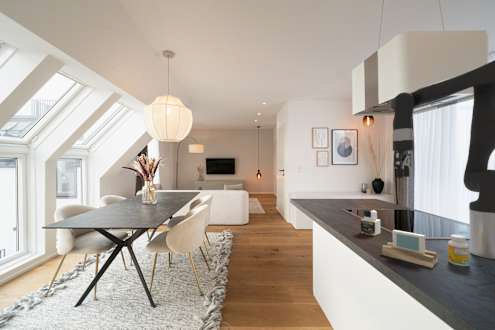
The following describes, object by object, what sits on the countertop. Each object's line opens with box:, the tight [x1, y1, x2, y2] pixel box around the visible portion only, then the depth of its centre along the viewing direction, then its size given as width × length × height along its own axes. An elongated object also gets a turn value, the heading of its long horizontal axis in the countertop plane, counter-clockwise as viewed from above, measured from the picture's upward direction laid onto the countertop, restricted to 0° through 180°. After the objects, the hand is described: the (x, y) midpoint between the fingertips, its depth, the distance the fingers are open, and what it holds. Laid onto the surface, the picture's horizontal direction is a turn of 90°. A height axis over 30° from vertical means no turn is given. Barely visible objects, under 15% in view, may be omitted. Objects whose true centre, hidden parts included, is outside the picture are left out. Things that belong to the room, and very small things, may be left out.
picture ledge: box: [381, 241, 439, 269], centre depth 88 cm, size 8×16×3 cm, turn 40°
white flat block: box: [392, 229, 426, 254], centre depth 88 cm, size 2×10×8 cm, turn 40°
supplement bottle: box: [447, 234, 470, 267], centre depth 83 cm, size 5×5×10 cm
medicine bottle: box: [360, 209, 381, 237], centre depth 120 cm, size 7×7×12 cm
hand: (403, 177), depth 100 cm, fingers open, 8 cm apart
